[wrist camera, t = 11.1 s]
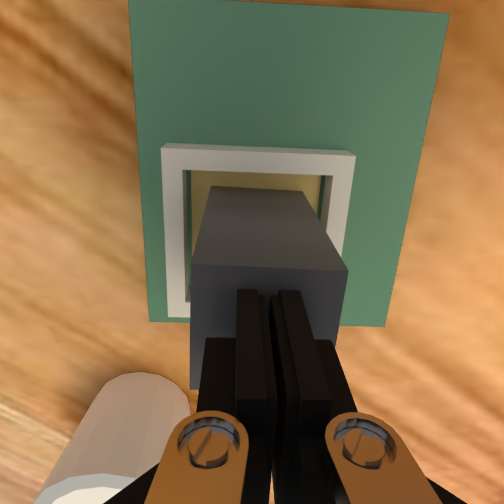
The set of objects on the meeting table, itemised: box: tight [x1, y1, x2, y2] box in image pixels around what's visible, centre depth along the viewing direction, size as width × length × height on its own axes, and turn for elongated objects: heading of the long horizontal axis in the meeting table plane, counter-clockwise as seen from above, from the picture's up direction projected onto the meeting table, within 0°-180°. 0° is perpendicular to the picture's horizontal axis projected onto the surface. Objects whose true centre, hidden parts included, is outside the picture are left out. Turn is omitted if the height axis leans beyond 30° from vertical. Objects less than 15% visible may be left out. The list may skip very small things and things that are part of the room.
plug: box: [190, 186, 349, 390], centre depth 15 cm, size 5×4×8 cm
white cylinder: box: [32, 372, 191, 504], centre depth 21 cm, size 7×7×7 cm
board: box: [128, 0, 450, 327], centre depth 17 cm, size 14×12×3 cm
